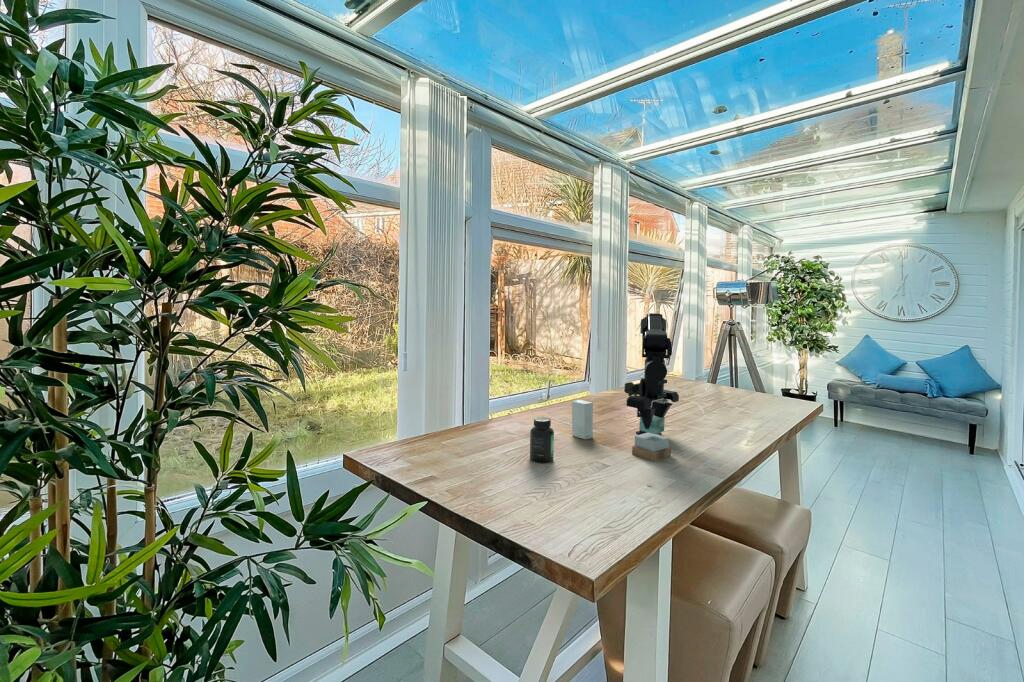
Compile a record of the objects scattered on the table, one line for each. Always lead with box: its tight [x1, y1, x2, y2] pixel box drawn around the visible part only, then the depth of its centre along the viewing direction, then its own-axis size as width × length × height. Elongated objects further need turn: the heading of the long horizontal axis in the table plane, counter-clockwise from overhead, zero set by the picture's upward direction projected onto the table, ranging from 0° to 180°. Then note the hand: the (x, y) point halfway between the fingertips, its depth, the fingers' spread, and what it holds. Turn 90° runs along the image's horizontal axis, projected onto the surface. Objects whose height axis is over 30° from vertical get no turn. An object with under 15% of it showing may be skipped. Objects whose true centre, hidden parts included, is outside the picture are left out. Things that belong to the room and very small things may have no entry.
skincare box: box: [571, 399, 594, 440], centre depth 155 cm, size 6×4×12 cm
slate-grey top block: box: [634, 433, 670, 452], centre depth 138 cm, size 7×7×3 cm
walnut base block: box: [631, 444, 672, 463], centre depth 138 cm, size 8×8×3 cm
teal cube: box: [639, 415, 666, 434], centre depth 137 cm, size 5×5×4 cm
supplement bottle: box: [529, 416, 555, 464], centre depth 132 cm, size 7×7×12 cm
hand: (651, 427), depth 137 cm, fingers closed on teal cube, 5 cm apart
